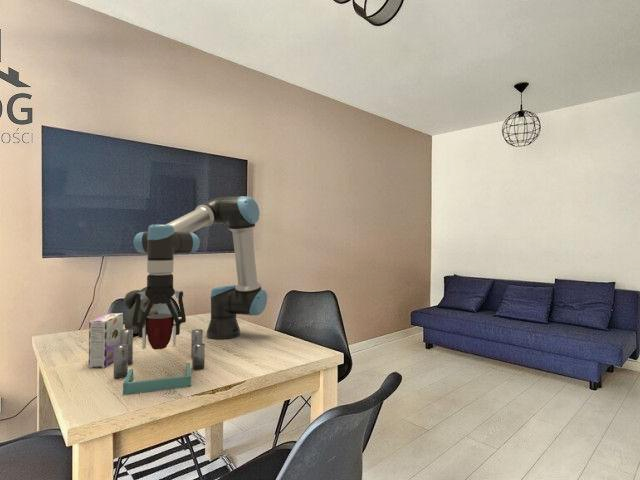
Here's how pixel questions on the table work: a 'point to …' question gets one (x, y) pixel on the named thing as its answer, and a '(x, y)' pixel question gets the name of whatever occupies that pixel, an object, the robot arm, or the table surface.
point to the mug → (159, 330)
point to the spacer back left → (196, 337)
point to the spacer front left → (198, 356)
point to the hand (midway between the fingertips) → (159, 346)
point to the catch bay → (155, 383)
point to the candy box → (104, 339)
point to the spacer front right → (120, 361)
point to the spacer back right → (127, 342)
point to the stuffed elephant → (131, 303)
